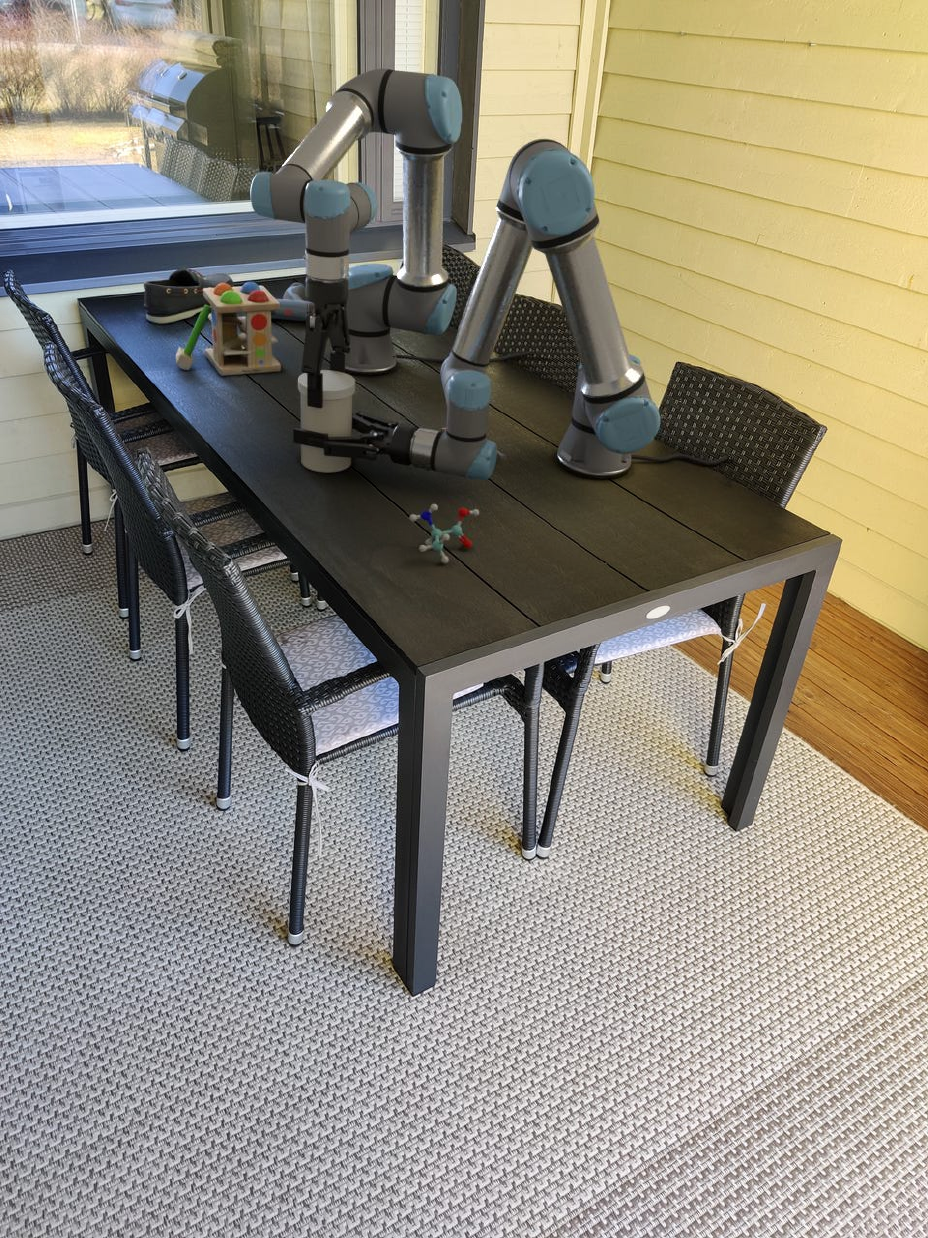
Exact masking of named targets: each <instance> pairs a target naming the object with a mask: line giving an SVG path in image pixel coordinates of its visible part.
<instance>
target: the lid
mask: <svg viewBox="0 0 928 1238" xmlns="http://www.w3.org/2000/svg"><path fill="white" fill-rule="evenodd" d="M320 373H323V400H337V399H343V398H347V397H349V396H351V395H352V394H353V395H354V394H355V392H356V379H355V378H354V377H353V376H352V375H350V374H349V373H347V372H345V373H343V372H338V371H332V370H330V369H321V372H320ZM297 389H298V391H299V394H300V393H302V394H303V395H305V396H307V373H302V374H300V375H299V376H298V378H297Z"/></svg>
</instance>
